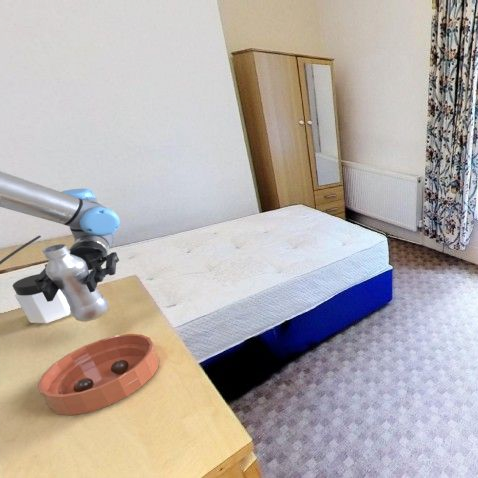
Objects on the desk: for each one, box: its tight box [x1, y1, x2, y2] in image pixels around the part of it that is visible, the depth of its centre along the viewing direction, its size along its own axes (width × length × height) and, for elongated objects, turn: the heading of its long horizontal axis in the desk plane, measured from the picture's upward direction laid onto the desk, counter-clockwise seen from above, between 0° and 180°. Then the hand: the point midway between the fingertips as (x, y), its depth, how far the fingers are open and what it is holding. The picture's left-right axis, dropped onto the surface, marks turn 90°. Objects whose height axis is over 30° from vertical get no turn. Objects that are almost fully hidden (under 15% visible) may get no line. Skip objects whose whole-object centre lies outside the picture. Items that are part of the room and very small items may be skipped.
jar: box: [12, 273, 71, 324], centre depth 91 cm, size 9×8×12 cm
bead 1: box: [73, 378, 94, 393], centre depth 69 cm, size 3×3×3 cm
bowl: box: [37, 333, 160, 416], centre depth 72 cm, size 18×18×6 cm
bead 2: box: [111, 360, 129, 374], centre depth 74 cm, size 3×3×3 cm
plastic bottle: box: [42, 243, 110, 323], centre depth 77 cm, size 6×7×20 cm
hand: (69, 291), depth 72 cm, fingers closed on plastic bottle, 6 cm apart
